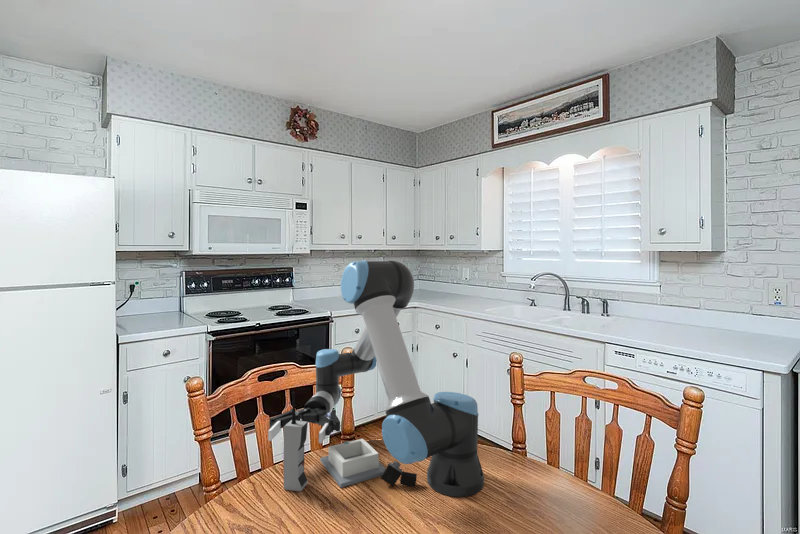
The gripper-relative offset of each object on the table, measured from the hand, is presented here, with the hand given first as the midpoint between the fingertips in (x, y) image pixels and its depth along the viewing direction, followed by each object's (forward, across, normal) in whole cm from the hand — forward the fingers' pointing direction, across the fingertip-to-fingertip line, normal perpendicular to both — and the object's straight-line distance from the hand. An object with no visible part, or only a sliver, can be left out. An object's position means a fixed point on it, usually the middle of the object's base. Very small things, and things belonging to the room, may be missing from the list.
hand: (294, 437), depth 106 cm
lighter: (-4, -27, -13) cm, 30 cm away
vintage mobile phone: (0, 0, -13) cm, 13 cm away
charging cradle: (-11, -13, -13) cm, 21 cm away
